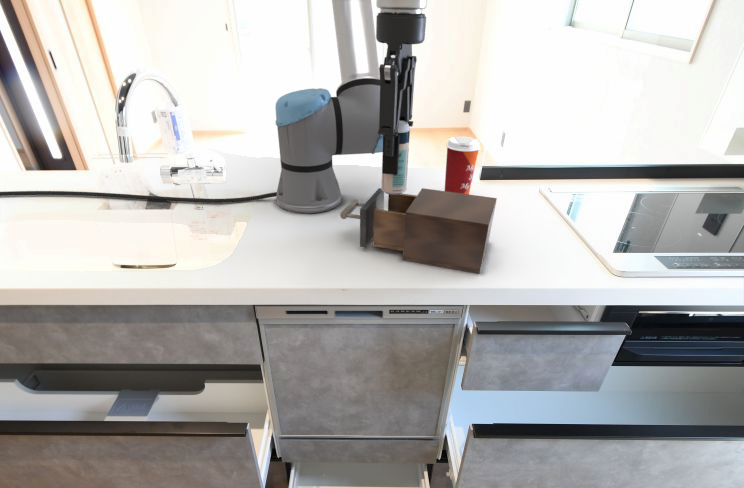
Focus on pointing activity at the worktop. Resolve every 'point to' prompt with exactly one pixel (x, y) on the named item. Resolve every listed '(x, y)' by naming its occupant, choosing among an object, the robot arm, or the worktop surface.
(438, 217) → the cabinet
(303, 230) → the worktop surface
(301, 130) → the robot arm
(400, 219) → the drawer
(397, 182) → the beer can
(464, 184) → the paper cup
